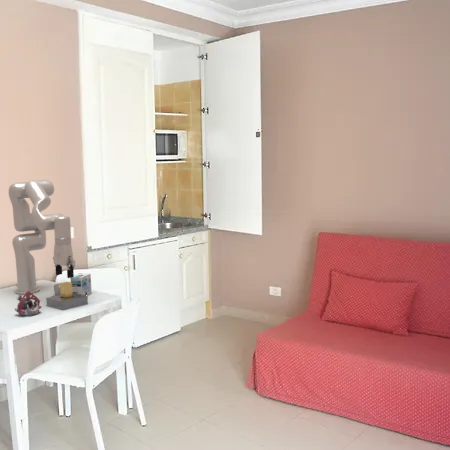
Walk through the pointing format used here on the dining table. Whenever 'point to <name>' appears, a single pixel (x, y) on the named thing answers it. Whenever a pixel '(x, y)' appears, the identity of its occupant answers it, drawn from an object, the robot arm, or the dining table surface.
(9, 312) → the dining table surface
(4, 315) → the dining table surface
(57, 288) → the round bit
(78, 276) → the light bulb box
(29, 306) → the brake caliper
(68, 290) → the square bit
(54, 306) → the bore block
